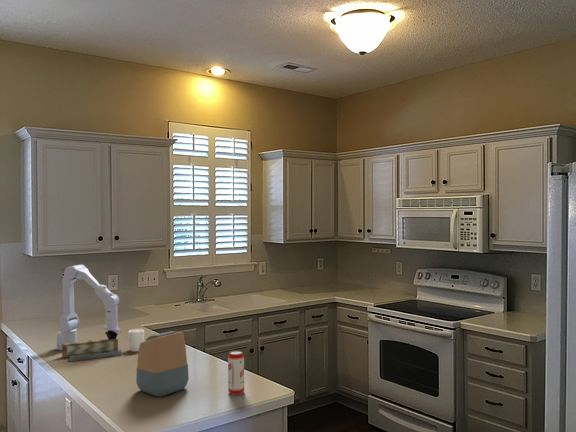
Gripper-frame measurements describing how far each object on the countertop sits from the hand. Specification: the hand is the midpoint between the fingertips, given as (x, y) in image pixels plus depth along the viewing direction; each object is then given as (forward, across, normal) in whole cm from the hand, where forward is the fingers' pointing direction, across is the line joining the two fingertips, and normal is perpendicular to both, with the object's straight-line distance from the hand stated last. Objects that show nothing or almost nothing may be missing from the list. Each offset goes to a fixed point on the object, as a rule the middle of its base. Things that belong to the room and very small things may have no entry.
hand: (112, 345), depth 269 cm
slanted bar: (+3, +5, -11) cm, 13 cm away
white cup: (+3, +8, +9) cm, 13 cm away
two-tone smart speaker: (+3, +69, -16) cm, 71 cm away
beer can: (+3, +94, +2) cm, 94 cm away
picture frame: (+3, -2, -10) cm, 11 cm away
